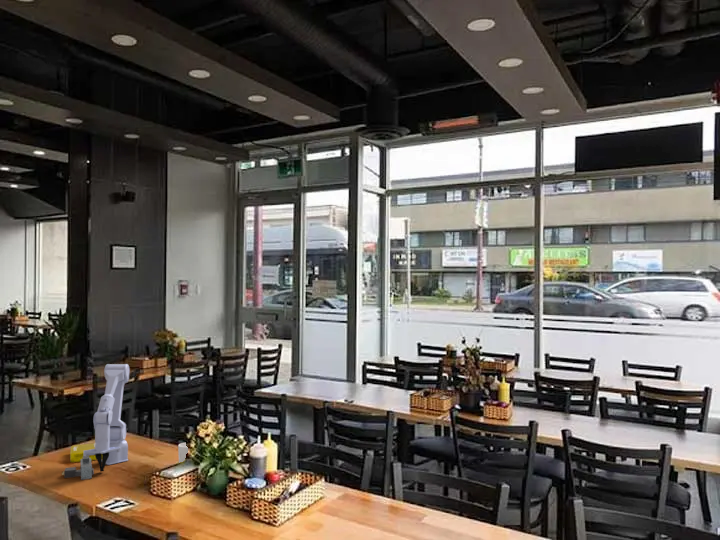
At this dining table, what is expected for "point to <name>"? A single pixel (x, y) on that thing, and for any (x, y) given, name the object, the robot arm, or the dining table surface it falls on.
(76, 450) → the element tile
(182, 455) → the white cup
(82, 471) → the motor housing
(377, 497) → the dining table surface
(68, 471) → the plug
